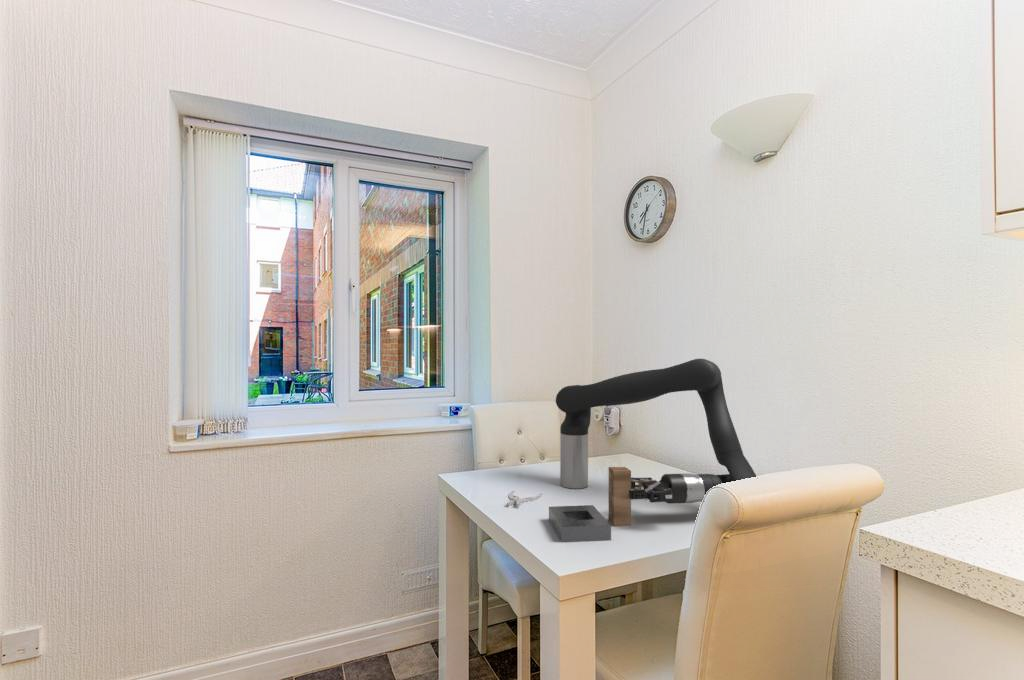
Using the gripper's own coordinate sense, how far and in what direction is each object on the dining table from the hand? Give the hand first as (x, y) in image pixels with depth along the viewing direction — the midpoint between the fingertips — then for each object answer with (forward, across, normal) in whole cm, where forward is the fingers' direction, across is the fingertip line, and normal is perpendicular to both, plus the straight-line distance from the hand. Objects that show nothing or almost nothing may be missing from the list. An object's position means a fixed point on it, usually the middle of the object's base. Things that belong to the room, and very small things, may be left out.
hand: (623, 489), depth 127 cm
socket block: (+13, +4, +8) cm, 16 cm away
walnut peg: (+1, 0, +8) cm, 9 cm away
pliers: (+24, -22, +9) cm, 34 cm away
